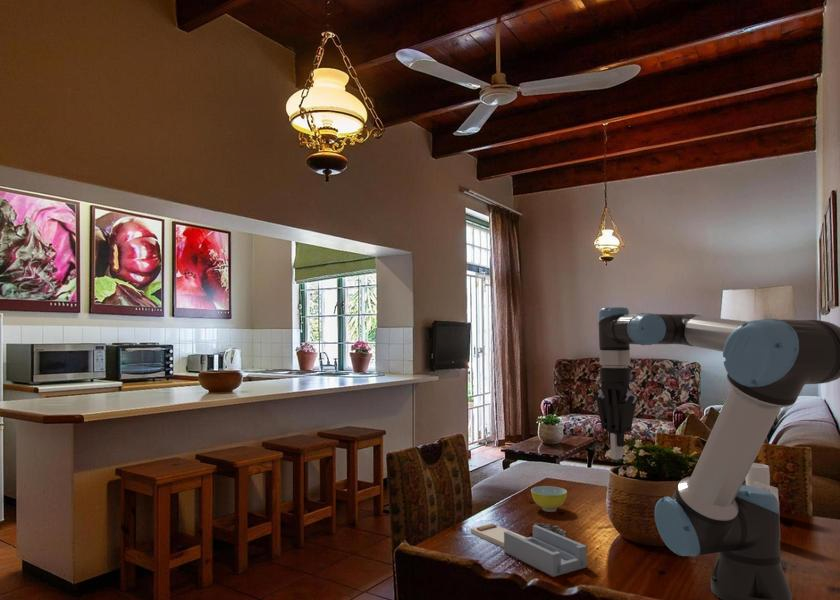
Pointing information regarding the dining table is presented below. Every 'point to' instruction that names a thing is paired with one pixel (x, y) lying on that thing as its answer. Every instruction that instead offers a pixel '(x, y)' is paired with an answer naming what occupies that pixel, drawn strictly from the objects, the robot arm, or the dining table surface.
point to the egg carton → (552, 528)
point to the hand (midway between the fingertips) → (616, 458)
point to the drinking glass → (758, 475)
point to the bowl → (549, 497)
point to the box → (547, 551)
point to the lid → (492, 533)
